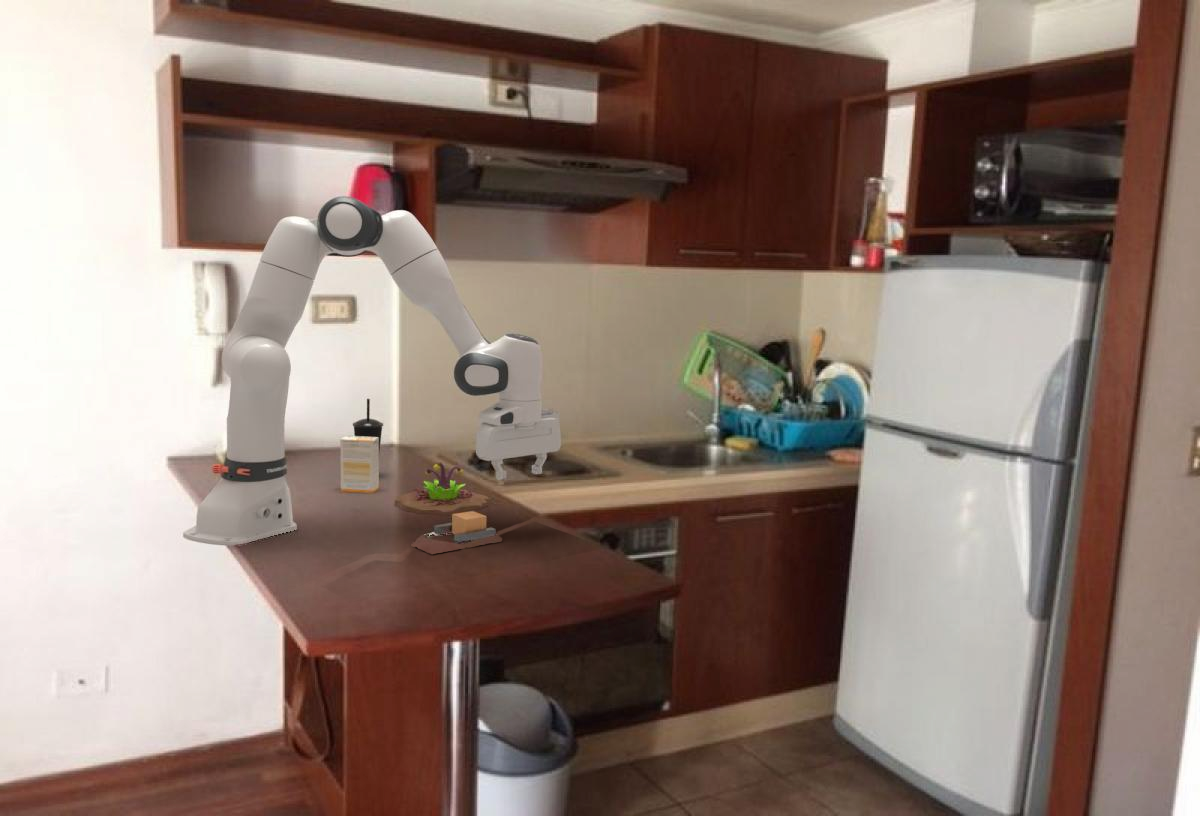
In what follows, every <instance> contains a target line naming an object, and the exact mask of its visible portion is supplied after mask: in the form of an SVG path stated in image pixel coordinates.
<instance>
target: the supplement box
mask: <svg viewBox="0 0 1200 816" xmlns="http://www.w3.org/2000/svg"><path fill="white" fill-rule="evenodd" d="M339 450H340V492H349V493H350V492H351V493H365V494H366V493H369V494H373V493H375V492H376V491H378V490H379V489H380V488H379V485H380V484H379V483H380V481H379V480H380V477H379V476H380V475H379V474H380V467H379V461H380V460H379V458H380V452H379V437H364V436H355V435H345V436H343V437H341V438H340V449H339Z"/></svg>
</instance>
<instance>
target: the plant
mask: <svg viewBox="0 0 1200 816" xmlns="http://www.w3.org/2000/svg"><path fill="white" fill-rule="evenodd" d="M454 470H457V474H458V475H460V476H461V475H463V474H464V470H463V469H462V468H461V467H459V466H453V467H452V468H450V469H449V471H448V472H447V474H446V469H445V465H443V463H442V462H437V463H435V464H434V465H433V468H426V469H425V474H426V475H427V476H429V475H431V474H432V473H433V474H434V475H435V476H436V477H437V479H434V480H433V482H431V481H428V480H424V481H423V483H424V484H425V486H423V488H424V489H420V490H419V489H414V490H412V491H411V492H409V493H408V492H407V493H404V494H401V495H399V496H398V497H396V498H395V499H394V506H395V507H398V508H399V509H401V510H402V511H406V512H410V513H415V514H420V515H436V516H444V517H446V516H452V514H457V513H463V512H469V511H475V510H483V509H482V508H486V506H487V507H488V504H489V503H490V498H489V497H488V496H487V495H484V494H480V493H476V492H472V491H471V490H467V489H462V488H464V486H466V483H462V484H456V480H454V479H453V480H452V479H451V478H452V474H453V472H454ZM438 471H440V473H439V472H438ZM488 502H489V503H488Z"/></svg>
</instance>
